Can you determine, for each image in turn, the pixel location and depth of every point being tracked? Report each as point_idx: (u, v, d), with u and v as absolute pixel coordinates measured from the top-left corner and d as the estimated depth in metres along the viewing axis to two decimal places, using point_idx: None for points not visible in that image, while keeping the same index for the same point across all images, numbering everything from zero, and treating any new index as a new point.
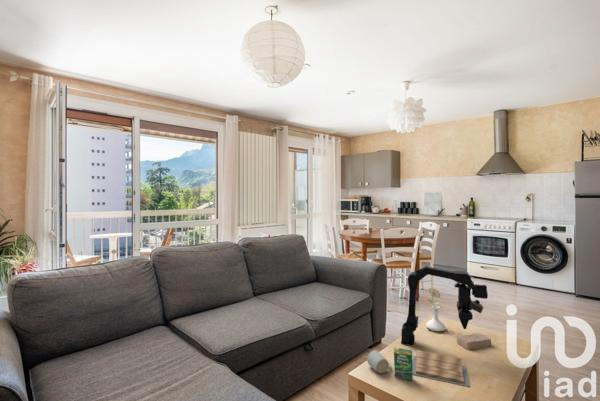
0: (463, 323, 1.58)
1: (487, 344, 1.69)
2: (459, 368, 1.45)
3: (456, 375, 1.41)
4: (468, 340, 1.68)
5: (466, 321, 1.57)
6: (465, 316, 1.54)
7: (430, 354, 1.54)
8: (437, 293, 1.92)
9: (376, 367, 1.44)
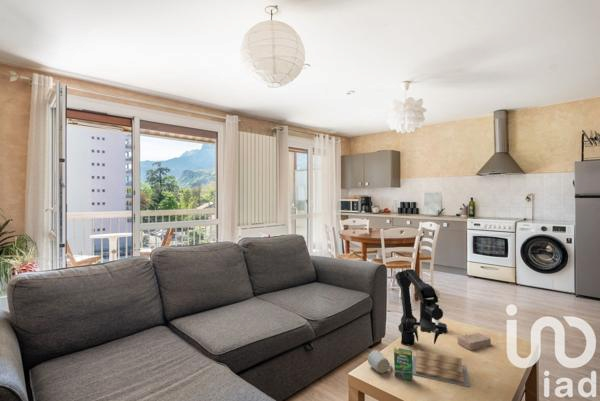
0: None
1: (487, 344, 1.70)
2: (459, 368, 1.45)
3: (456, 375, 1.41)
4: (470, 341, 1.67)
5: None
6: (406, 322, 1.58)
7: (430, 354, 1.54)
8: (437, 293, 1.92)
9: (377, 367, 1.45)
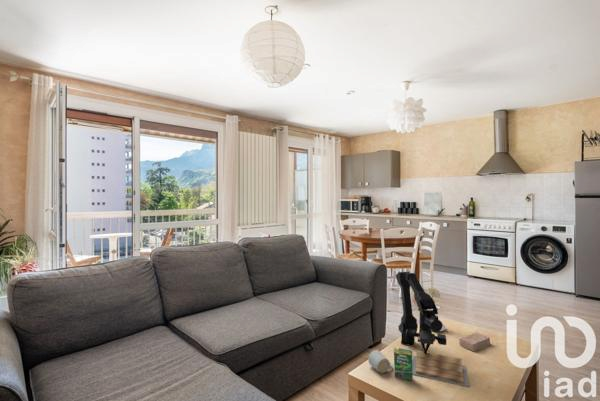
0: None
1: (487, 343, 1.71)
2: (459, 368, 1.45)
3: (456, 375, 1.41)
4: (472, 341, 1.67)
5: None
6: None
7: (430, 354, 1.54)
8: (437, 293, 1.92)
9: (377, 367, 1.45)
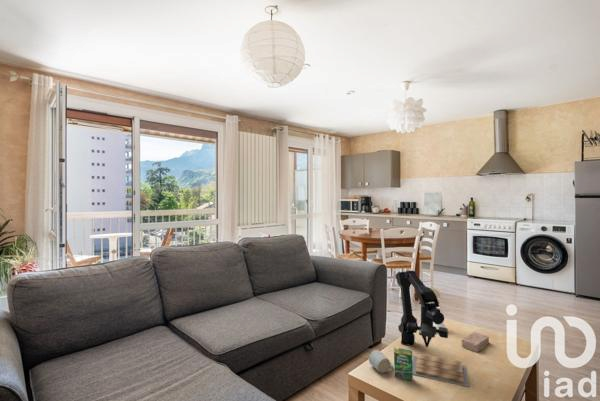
0: None
1: (487, 342, 1.71)
2: (459, 369, 1.45)
3: (456, 375, 1.41)
4: (475, 342, 1.66)
5: None
6: None
7: (430, 357, 1.54)
8: (437, 293, 1.92)
9: (378, 367, 1.45)
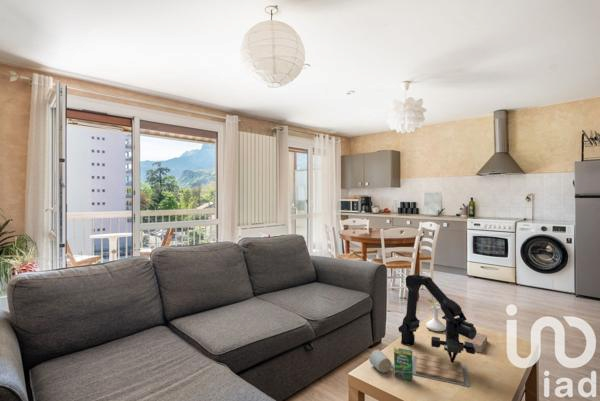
0: None
1: (486, 341, 1.72)
2: (459, 369, 1.45)
3: (456, 375, 1.41)
4: (478, 343, 1.65)
5: None
6: (431, 341, 1.54)
7: (430, 357, 1.54)
8: None
9: (379, 366, 1.45)
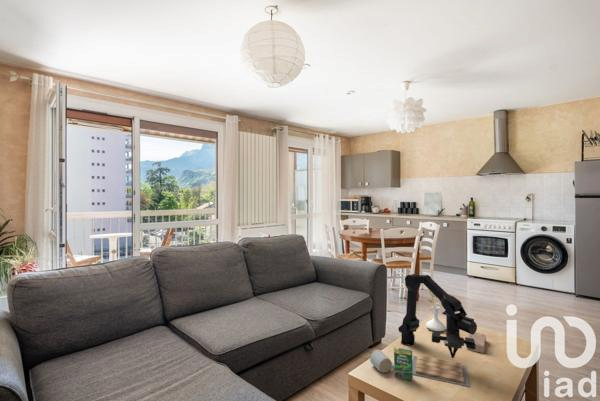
0: None
1: None
2: (459, 369, 1.45)
3: (456, 375, 1.41)
4: (480, 343, 1.65)
5: None
6: None
7: (430, 358, 1.54)
8: None
9: (379, 366, 1.45)
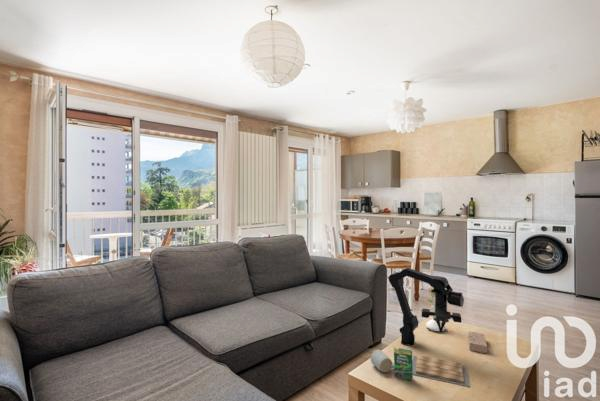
0: (438, 324, 1.63)
1: None
2: (459, 369, 1.45)
3: (456, 375, 1.41)
4: (482, 343, 1.65)
5: None
6: None
7: (430, 358, 1.54)
8: None
9: (380, 366, 1.45)
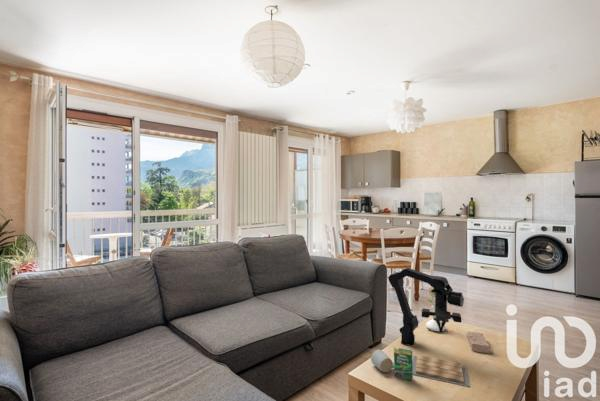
0: (438, 324, 1.63)
1: None
2: (459, 369, 1.45)
3: (456, 375, 1.41)
4: (484, 343, 1.65)
5: None
6: None
7: (430, 358, 1.54)
8: None
9: (380, 366, 1.45)
